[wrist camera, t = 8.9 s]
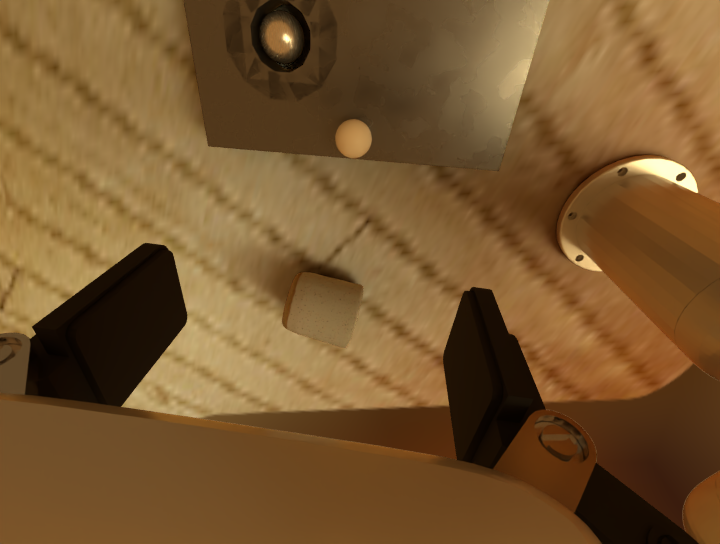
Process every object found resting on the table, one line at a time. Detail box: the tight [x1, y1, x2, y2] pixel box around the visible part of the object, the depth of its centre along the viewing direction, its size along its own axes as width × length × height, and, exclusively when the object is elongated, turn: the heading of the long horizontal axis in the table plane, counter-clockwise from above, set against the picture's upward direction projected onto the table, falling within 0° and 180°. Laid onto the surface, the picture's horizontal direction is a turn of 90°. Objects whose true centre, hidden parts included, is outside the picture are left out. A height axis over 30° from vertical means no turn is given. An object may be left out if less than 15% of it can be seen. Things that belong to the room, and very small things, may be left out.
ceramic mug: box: [282, 272, 363, 348], centre depth 41 cm, size 11×8×8 cm
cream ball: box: [335, 119, 372, 158], centre depth 28 cm, size 3×3×3 cm
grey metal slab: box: [184, 0, 549, 171], centre depth 27 cm, size 26×17×4 cm, turn 86°
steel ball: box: [259, 10, 304, 64], centre depth 27 cm, size 4×4×4 cm
